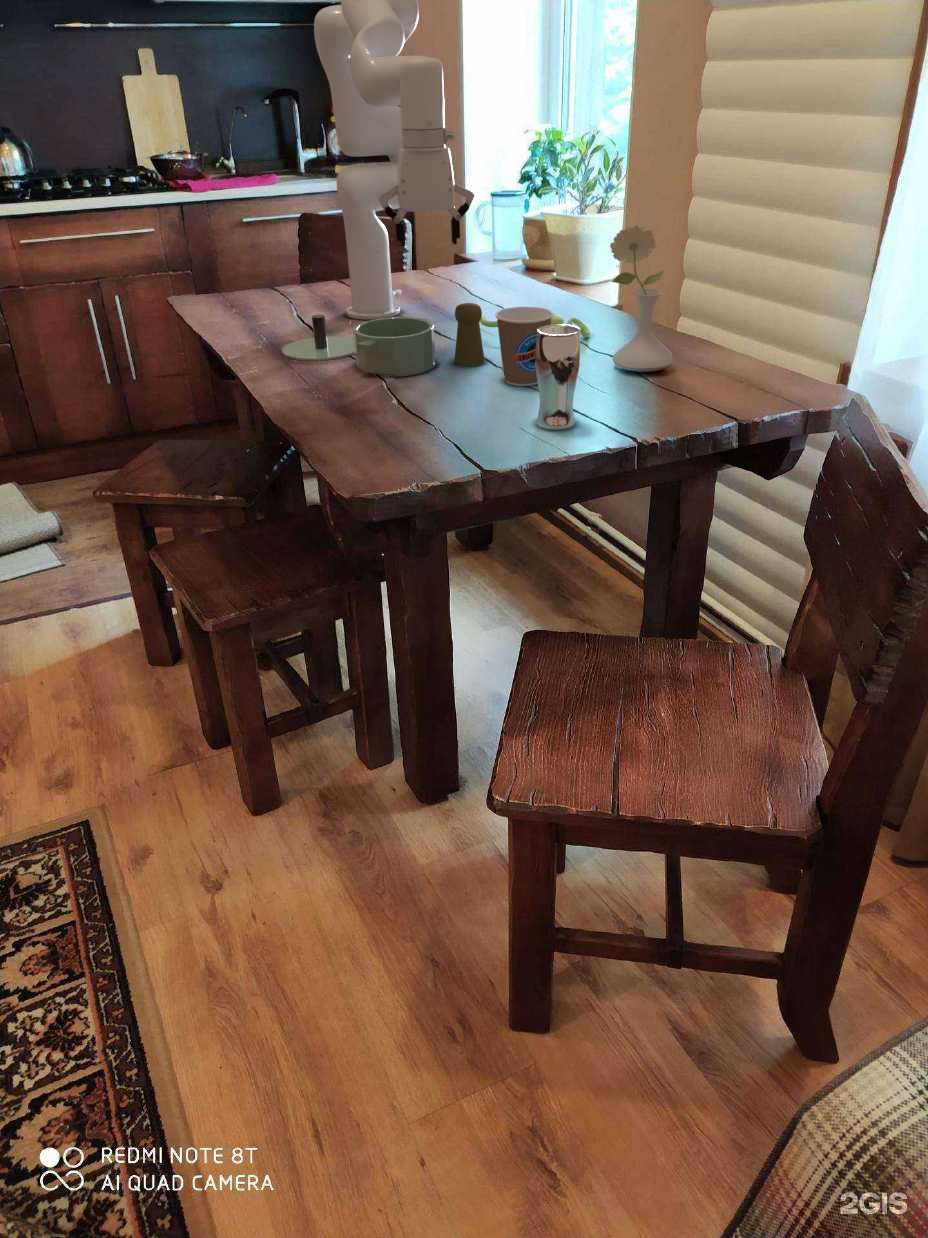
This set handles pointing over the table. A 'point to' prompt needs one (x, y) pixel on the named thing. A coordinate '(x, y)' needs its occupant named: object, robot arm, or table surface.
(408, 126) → the robot arm
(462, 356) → the cork
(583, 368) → the table surface
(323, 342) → the lid
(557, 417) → the beer glass
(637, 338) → the flower in vase
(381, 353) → the pot
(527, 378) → the coffee cup
